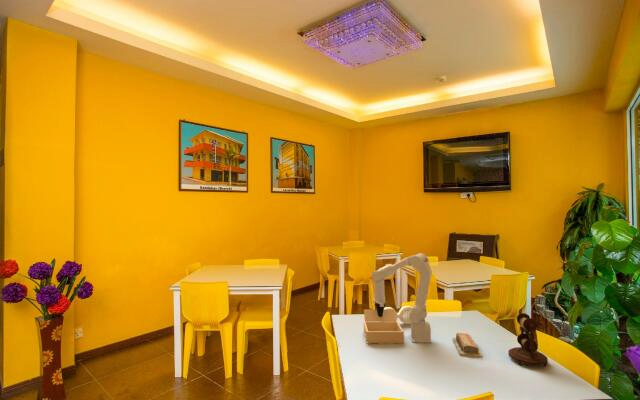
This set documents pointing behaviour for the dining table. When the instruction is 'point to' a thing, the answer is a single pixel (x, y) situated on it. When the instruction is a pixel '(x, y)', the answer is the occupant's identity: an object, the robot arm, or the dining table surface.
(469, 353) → the packaged product
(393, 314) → the carton flap
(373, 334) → the carton
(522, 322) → the brown figurine statuette
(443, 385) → the dining table surface
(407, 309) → the letter
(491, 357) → the dining table surface
